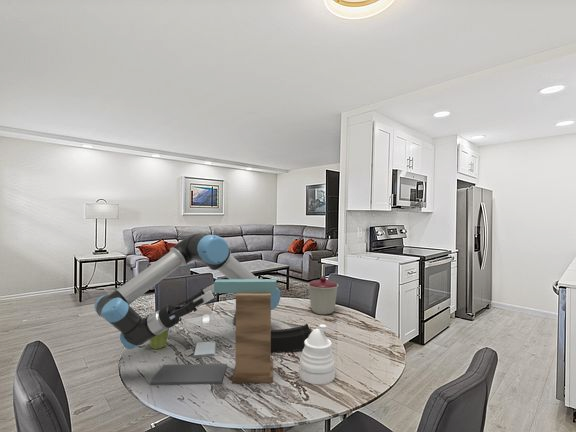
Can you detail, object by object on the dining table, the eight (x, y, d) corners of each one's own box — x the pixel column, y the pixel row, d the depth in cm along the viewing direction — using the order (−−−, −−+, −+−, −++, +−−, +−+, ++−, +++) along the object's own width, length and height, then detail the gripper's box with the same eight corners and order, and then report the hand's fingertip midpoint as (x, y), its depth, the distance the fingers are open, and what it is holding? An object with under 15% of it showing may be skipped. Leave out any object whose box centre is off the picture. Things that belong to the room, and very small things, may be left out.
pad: (163, 366, 114) (163, 364, 114) (227, 365, 116) (227, 363, 116) (150, 384, 103) (150, 382, 102) (221, 383, 104) (221, 381, 104)
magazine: (238, 333, 125) (307, 310, 128) (238, 330, 128) (306, 307, 131) (250, 372, 125) (318, 348, 129) (250, 368, 129) (317, 344, 132)
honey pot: (336, 367, 115) (336, 320, 115) (333, 386, 102) (334, 333, 102) (302, 363, 118) (303, 317, 117) (296, 381, 105) (296, 330, 105)
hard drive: (214, 353, 123) (215, 340, 136) (193, 355, 122) (196, 342, 134) (214, 357, 123) (215, 344, 136) (193, 359, 122) (196, 345, 134)
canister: (321, 305, 192) (321, 272, 192) (344, 312, 179) (344, 276, 179) (301, 311, 180) (301, 276, 180) (324, 319, 167) (324, 281, 166)
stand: (236, 365, 116) (236, 287, 115) (273, 365, 116) (273, 287, 116) (232, 383, 104) (232, 296, 103) (272, 382, 104) (273, 295, 104)
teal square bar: (216, 290, 111) (216, 279, 111) (276, 290, 112) (276, 279, 112) (214, 293, 107) (214, 281, 107) (276, 292, 108) (276, 281, 108)
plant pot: (172, 341, 138) (172, 322, 137) (167, 350, 128) (167, 329, 128) (150, 342, 136) (150, 323, 136) (144, 351, 127) (144, 331, 127)
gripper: (143, 322, 96) (202, 289, 96) (171, 299, 121) (217, 273, 121) (155, 343, 96) (214, 309, 97) (180, 316, 121) (227, 289, 122)
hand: (216, 289), depth 109 cm, fingers open, 13 cm apart
